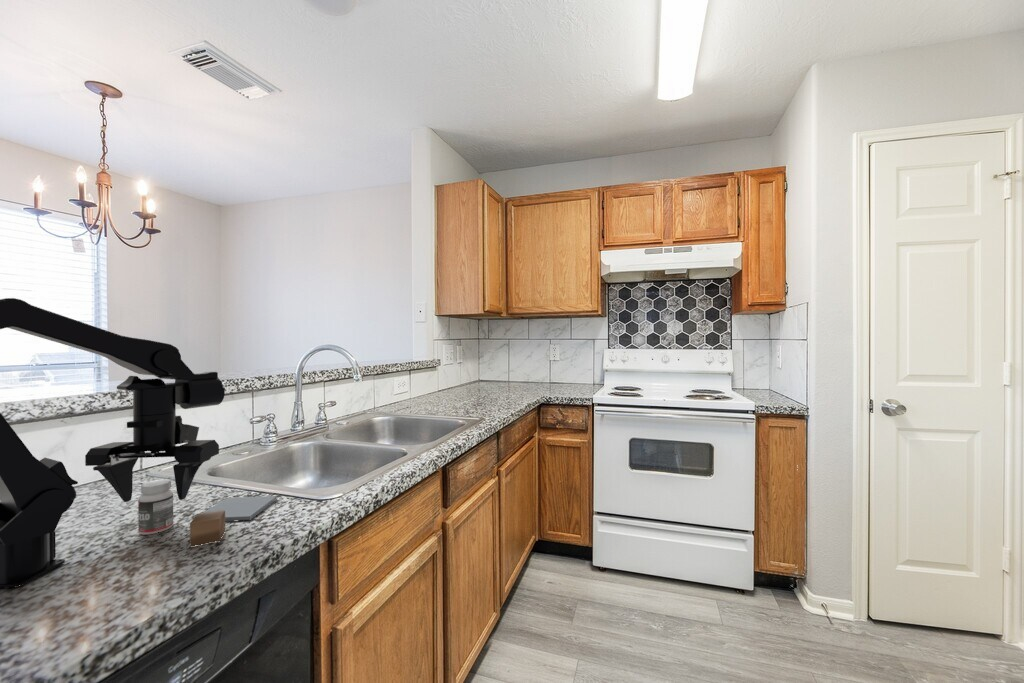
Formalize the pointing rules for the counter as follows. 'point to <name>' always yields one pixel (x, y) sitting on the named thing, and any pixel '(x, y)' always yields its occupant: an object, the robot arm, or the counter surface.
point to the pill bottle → (155, 507)
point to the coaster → (242, 507)
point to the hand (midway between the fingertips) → (155, 500)
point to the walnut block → (207, 527)
